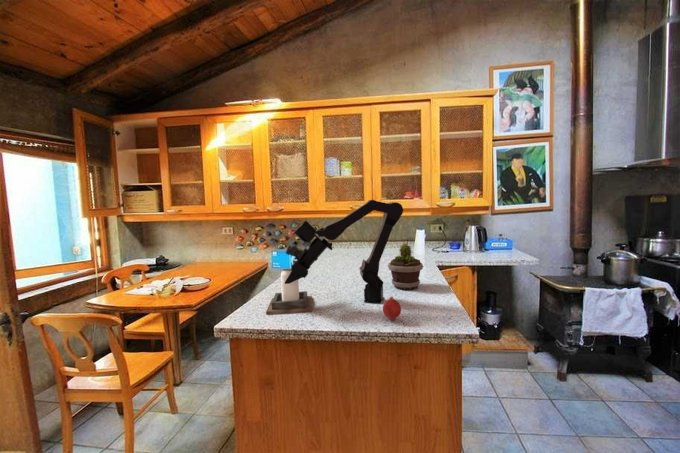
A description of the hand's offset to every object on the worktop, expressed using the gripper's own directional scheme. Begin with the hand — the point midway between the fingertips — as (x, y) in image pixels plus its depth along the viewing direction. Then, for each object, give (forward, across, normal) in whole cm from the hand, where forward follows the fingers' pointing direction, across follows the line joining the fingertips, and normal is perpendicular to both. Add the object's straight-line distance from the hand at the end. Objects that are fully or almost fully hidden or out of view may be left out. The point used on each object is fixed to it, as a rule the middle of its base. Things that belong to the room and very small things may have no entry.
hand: (286, 281), depth 124 cm
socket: (+6, 0, +7) cm, 9 cm away
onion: (-18, +21, +32) cm, 42 cm away
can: (+4, +1, +6) cm, 8 cm away
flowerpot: (-28, -16, +43) cm, 54 cm away
